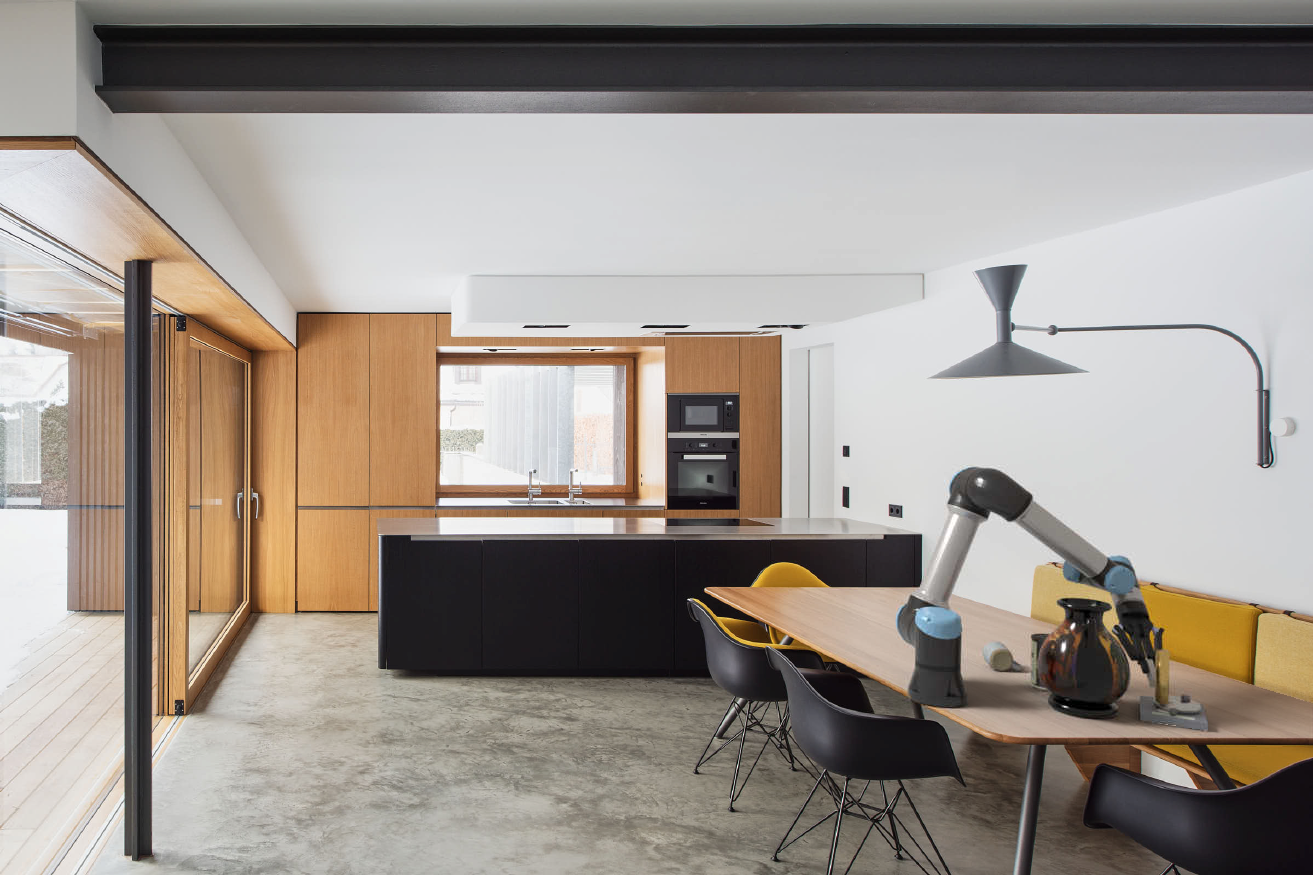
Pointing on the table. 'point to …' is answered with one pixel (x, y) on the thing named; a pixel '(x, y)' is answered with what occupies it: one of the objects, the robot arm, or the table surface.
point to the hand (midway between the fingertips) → (1155, 684)
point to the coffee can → (1036, 659)
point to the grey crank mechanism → (1171, 715)
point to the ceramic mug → (999, 657)
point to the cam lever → (1162, 688)
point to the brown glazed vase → (1083, 662)
